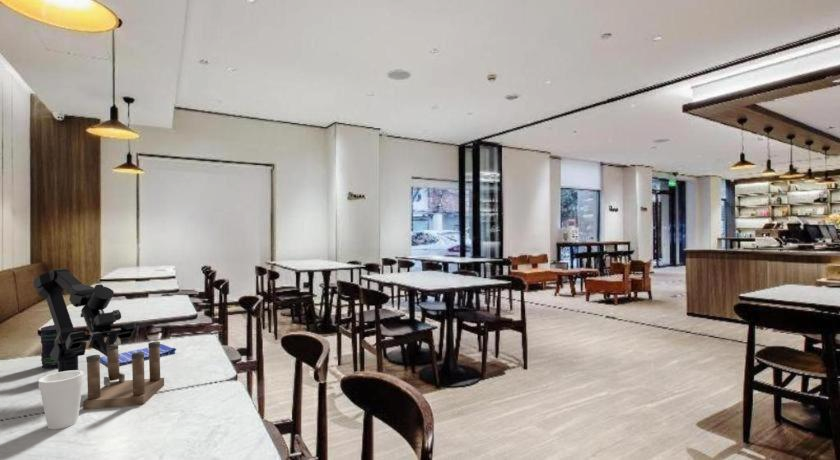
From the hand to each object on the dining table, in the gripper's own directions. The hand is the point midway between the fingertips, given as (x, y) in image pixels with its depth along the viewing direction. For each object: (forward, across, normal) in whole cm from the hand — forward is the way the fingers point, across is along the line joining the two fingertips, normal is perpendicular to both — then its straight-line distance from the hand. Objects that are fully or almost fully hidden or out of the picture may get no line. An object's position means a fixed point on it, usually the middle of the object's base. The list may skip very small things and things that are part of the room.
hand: (110, 356), depth 143 cm
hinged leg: (+7, 0, +4) cm, 8 cm away
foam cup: (+20, -18, -4) cm, 27 cm away
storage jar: (-26, 0, +42) cm, 49 cm away
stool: (+15, 0, 0) cm, 15 cm away
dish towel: (-15, +22, +31) cm, 41 cm away
